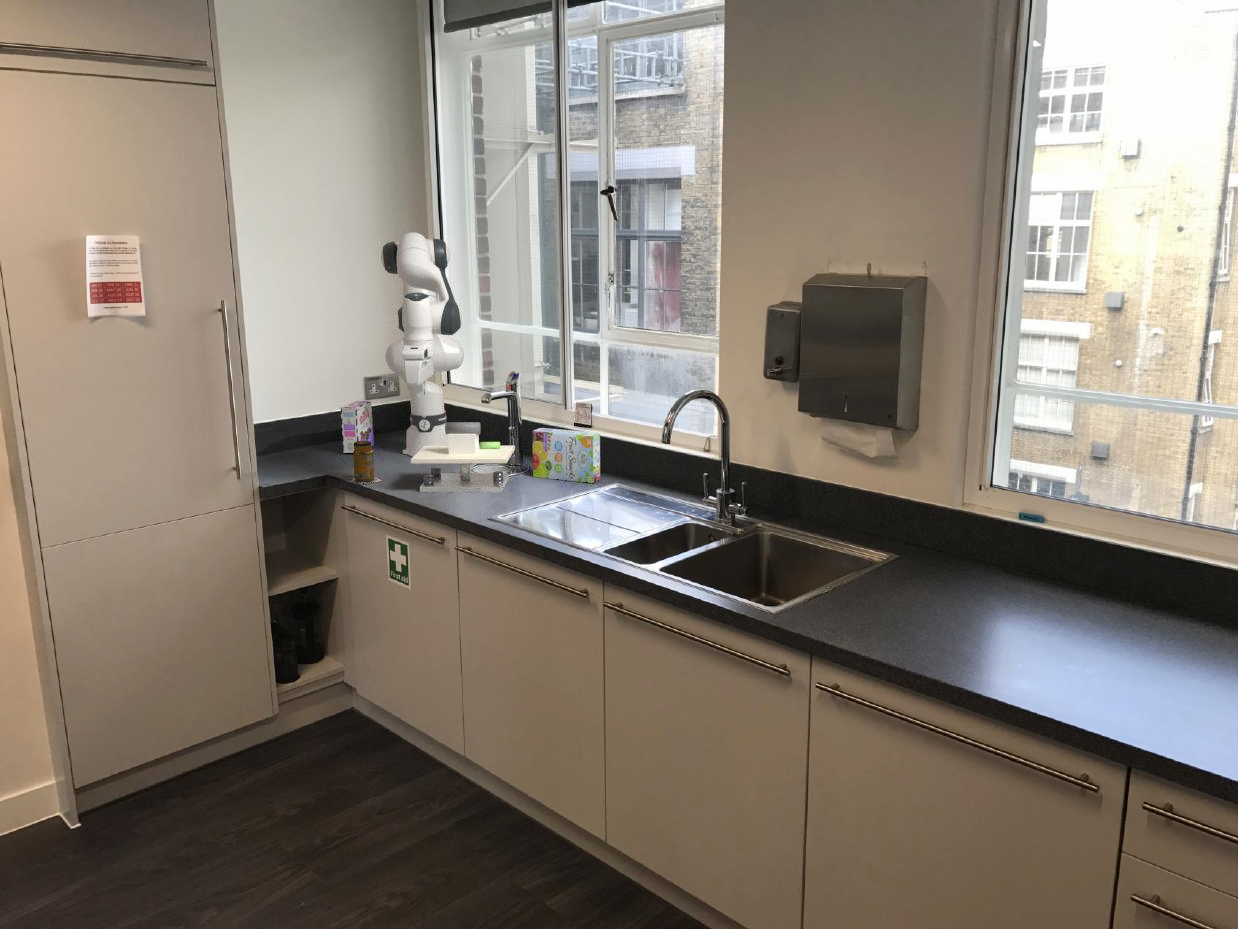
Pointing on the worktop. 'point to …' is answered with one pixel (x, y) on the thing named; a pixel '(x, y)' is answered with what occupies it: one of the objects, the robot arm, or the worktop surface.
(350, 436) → the candy box
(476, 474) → the bolted base plate
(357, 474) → the condiment
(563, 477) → the snack box
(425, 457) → the plate
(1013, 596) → the worktop surface
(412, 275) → the robot arm
